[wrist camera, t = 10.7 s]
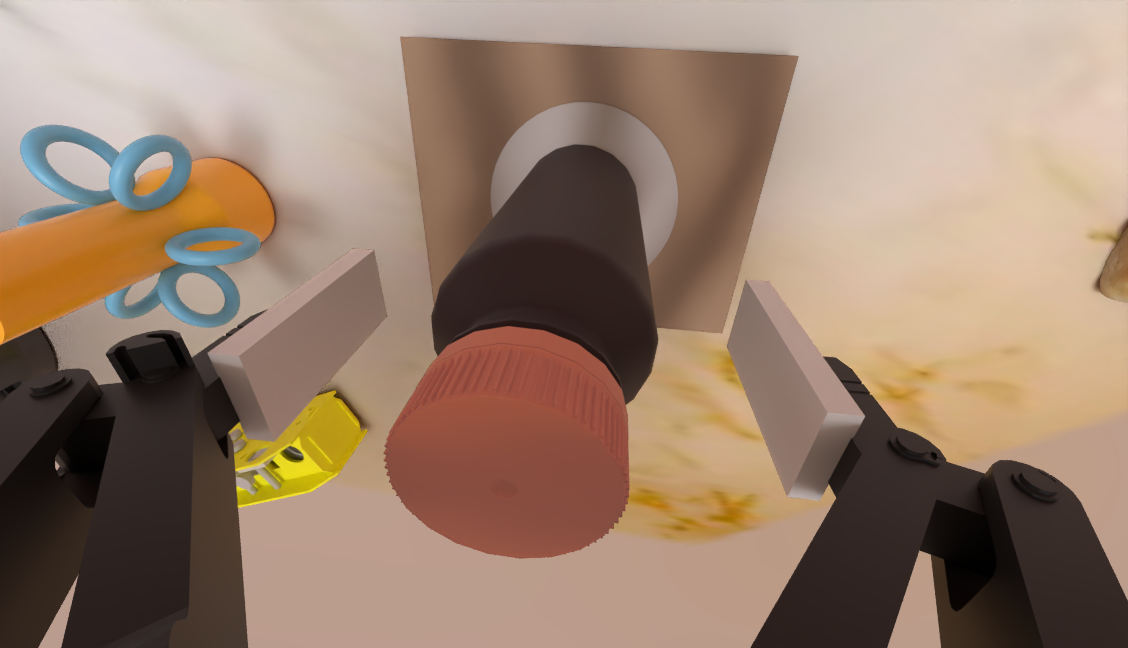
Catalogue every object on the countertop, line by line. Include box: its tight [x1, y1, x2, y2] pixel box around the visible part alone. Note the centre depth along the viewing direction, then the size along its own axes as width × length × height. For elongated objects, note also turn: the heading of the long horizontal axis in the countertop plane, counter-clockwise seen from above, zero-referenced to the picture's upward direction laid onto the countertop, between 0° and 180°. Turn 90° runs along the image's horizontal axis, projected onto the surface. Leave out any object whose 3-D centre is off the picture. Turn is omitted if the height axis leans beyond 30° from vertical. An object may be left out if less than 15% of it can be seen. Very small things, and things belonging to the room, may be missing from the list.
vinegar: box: [384, 144, 658, 558], centre depth 17 cm, size 7×7×20 cm
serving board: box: [400, 37, 798, 333], centre depth 26 cm, size 20×16×2 cm
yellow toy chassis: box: [228, 391, 368, 508], centre depth 38 cm, size 16×6×8 cm, turn 112°
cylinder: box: [0, 125, 275, 345], centre depth 24 cm, size 12×10×15 cm
